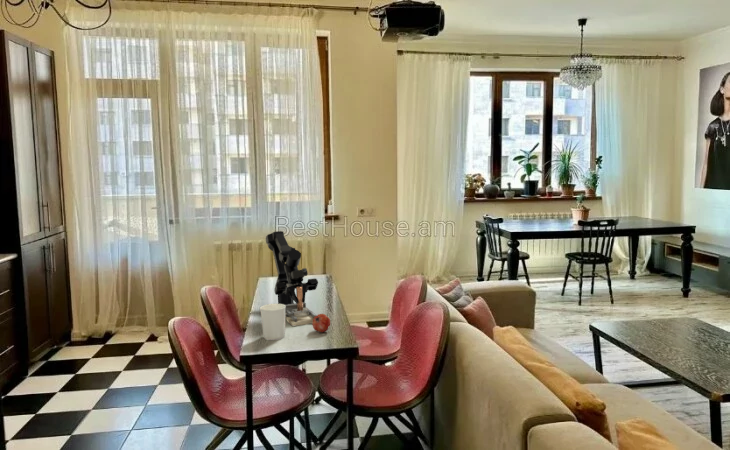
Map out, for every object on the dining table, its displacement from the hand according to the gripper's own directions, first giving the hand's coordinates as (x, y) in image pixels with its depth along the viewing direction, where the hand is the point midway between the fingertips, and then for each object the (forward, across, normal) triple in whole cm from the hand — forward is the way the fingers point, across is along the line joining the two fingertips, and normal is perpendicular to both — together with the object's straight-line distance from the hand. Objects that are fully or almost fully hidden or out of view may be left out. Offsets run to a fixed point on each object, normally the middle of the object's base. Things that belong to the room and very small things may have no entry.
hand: (300, 302), depth 220 cm
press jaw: (+3, 0, +5) cm, 6 cm away
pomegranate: (+19, +3, -8) cm, 21 cm away
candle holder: (+17, -16, -6) cm, 24 cm away
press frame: (+4, 0, +7) cm, 8 cm away
